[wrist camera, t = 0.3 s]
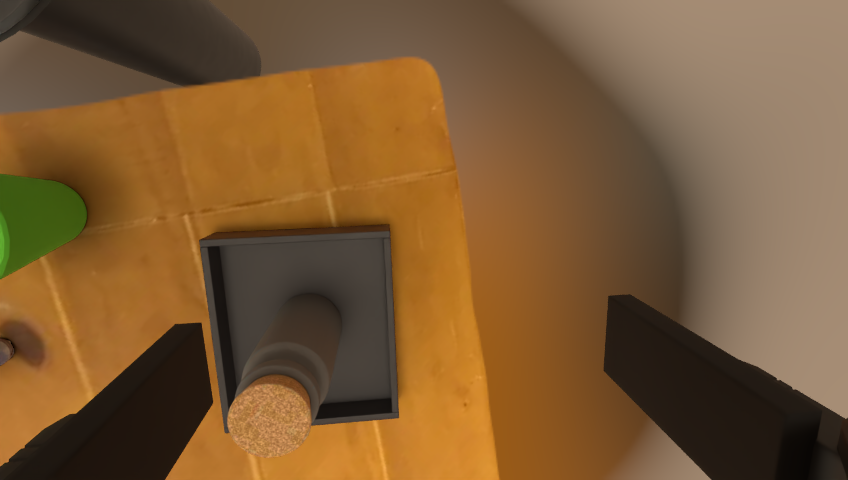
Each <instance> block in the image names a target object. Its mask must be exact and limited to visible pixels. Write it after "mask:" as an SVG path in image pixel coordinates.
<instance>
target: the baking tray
mask: <svg viewBox="0 0 848 480" xmlns="http://www.w3.org/2000/svg"><path fill="white" fill-rule="evenodd" d="M199 242H200V250H201V257H202V265H203V272H204V280H205V287H206V295H207V302H208V310H209V318H210V325H211V333H212V340H213V348H214V355H215V363H216V370H217V378H218V385H219V393H220V400H221V408H222V415H223V423H224V430H225V433H230V432H229V429H228V424H227V418H228V412H229V409H230V406H231V404H232V403H233V401H234V399H235V394H236V391H237V388H238V386H239V384H240V382H241V381H242V373H243V370H244V367H245V365H246V363H247V361H248V359H249V357H250V356H251V354H252V352H253V351H254V349H255V348H256V346H257V344H258V343H259V341H260V340H261V338H262V336H263V335H264V333H265V332H266V330H267V329H268V327H269V326H270V324H271V323H272V321H273V319H274V318H275V316H276V315H277V313H278V312H279V310H280V309H281V307H282V306H283V305H284V304H285V303H286V302H287V301H289V300H290V299H292V298H293V297H295V296H298V295H302V294H316V295H320V296H322V297H325V298H327V299H328V300H330V301H331V302H332V303H333V304H334V305H335V306H336V308H337V309H338V311H339V313H340V316H341V321H342V329H341V335H340V340H339V345H338V349H337V354H336V359H335V364H334V369H333V373H332V378H331V382H330V386H329V390H328V393H327V395H326V397H325V399H324V401H323V402H322V404H321V405H320V406H319V410H318V413H317V416H316V418H315V420H314V421H313V423H312V424H311V426H313V425H325V424H336V423H348V422H359V421H371V420H382V419H394V418H399V408H398V387H397V366H396V345H395V324H394V303H393V282H392V261H391V240H390V227H389V225H370V226H349V227H327V228H306V229H285V230H263V231H242V232H221V233H213V234H211V235H209V236H207V237H205V238H203V239H201V240H199Z"/></svg>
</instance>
